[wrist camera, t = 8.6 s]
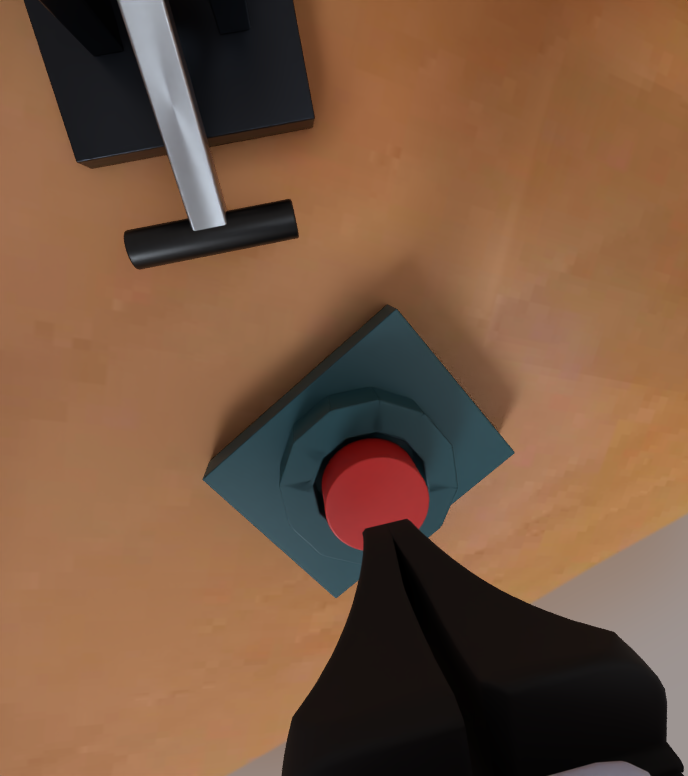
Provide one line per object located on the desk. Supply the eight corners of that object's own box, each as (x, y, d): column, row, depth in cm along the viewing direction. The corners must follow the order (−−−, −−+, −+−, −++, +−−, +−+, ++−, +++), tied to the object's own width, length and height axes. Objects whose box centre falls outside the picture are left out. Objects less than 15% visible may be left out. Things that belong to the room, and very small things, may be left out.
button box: (332, 573, 22) (340, 630, 19) (208, 461, 20) (192, 503, 17) (498, 437, 21) (537, 472, 18) (387, 303, 19) (408, 314, 16)
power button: (364, 541, 18) (371, 570, 17) (301, 481, 17) (302, 505, 16) (435, 482, 18) (450, 506, 16) (375, 418, 17) (384, 435, 15)
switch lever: (295, 227, 16) (302, 247, 14) (146, 257, 16) (131, 282, 14) (199, -251, 10) (186, -330, 8) (-42, -218, 10) (-113, -291, 8)
